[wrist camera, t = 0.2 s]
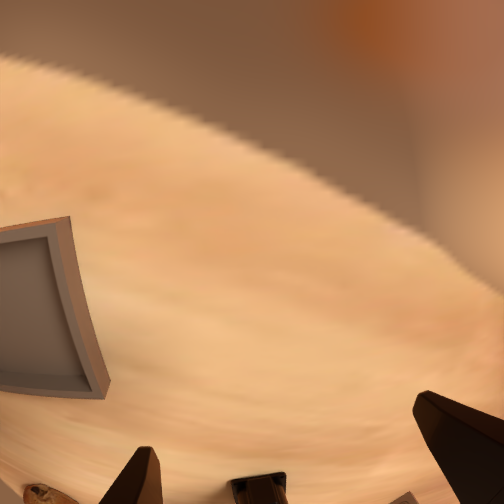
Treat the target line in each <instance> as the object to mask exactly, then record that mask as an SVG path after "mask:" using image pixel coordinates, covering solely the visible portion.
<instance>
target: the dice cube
mask: <svg viewBox="0 0 504 504" xmlns="http://www.w3.org/2000/svg"><path fill="white" fill-rule="evenodd" d="M390 504H419V503H418V501H417V500H416V498H415V497H414V495H413V494H412V493H411V492H410V491H409V492H407V493H406V494H404V495H403V496H401V497H399V498H398V499H396V500H395V501H393V502H391V503H390Z"/></svg>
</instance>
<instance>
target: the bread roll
mask: <svg viewBox="0 0 504 504" xmlns="http://www.w3.org/2000/svg"><path fill="white" fill-rule="evenodd" d="M23 499H24V503H25V504H79V503H78V502H77V501H75V500H73V499H71V498H70V497H69V496H67V495H65V494H64V493H62V492H60V491H58V490H55V489H53V488H49V487H48V486H46V485H43V484H38V485H32V486H28V487H26V489H25V491H24V494H23Z"/></svg>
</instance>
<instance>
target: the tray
mask: <svg viewBox="0 0 504 504" xmlns="http://www.w3.org/2000/svg"><path fill="white" fill-rule="evenodd" d="M110 381H111V380H110V378H109V375H108V372H107V369H106V366H105V363H104V360H103V357H102V354H101V351H100V348H99V345H98V342H97V338H96V335H95V331H94V328H93V325H92V321H91V317H90V314H89V310H88V306H87V302H86V298H85V294H84V290H83V285H82V281H81V276H80V272H79V267H78V262H77V257H76V251H75V246H74V240H73V234H72V228H71V221H70V216H67V217H61V218H54V219H48V220H42V221H36V222H30V223H24V224H19V225H13V226H8V227H3V228H0V391H4V392H11V393H18V394H27V395H36V396H46V397H59V398H75V399H105V397H106V394H107V391H108V388H109V385H110Z"/></svg>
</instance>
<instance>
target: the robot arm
mask: <svg viewBox="0 0 504 504" xmlns="http://www.w3.org/2000/svg"><path fill="white" fill-rule="evenodd" d="M413 416H414V418H415V420H416V422H417V424H418V427H419V429H420V431H421V433H422V435H423V438H424V440H425V442H426V444H427V446H428V448H429V450H430V451H431V453H432V455H433V456H434V458H435V460H436V462H437V463H438V465H439V467H440V468H441V470H442V472H443V474H444V475H445V477H446V479H447V480H448V482H449V484H450V486H451V487H452V489H453V491H454V493H455V495H456V496H457V498H458V500H459V502H460V504H504V420H502V419H500V418H497V417H494V416H492V415H489V414H486V413H484V412H481V411H479V410H476V409H473V408H471V407H468V406H466V405H463V404H461V403H458V402H456V401H453V400H451V399H448V398H446V397H444V396H441V395H439V394H436V393H434V392H432V391H429V390H427V391H424V392H421V393H419V394H418V395H417V398H416V401H415V404H414V406H413ZM231 485H232V490H233V494H234V499H235V503H236V504H288V501H287V498H286V495H285V493H286V473H285V472H282V473H276V474H271V475H265V476H259V477H252V478H245V479H237V480H232V481H231ZM99 504H163V498H162V486H161V472H160V463H159V460H158V458H157V456H156V454H155V451H154V449H153V448H152V447H150V446H141V447H139V448H138V449H137V450H136V452H135V453H134V455H133V456H132V457H131V459H130V460H129V462H128V463H127V464H126V466H125V467H124V469H123V470H122V471H121V473H120V474H119V476H118V477H117V478H116V480H115V481H114V483H113V484H112V485H111V487H110V488H109V490H108V491H107V492H106V494H105V495H104V497H103V498H102V499H101V501H100V502H99Z"/></svg>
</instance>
